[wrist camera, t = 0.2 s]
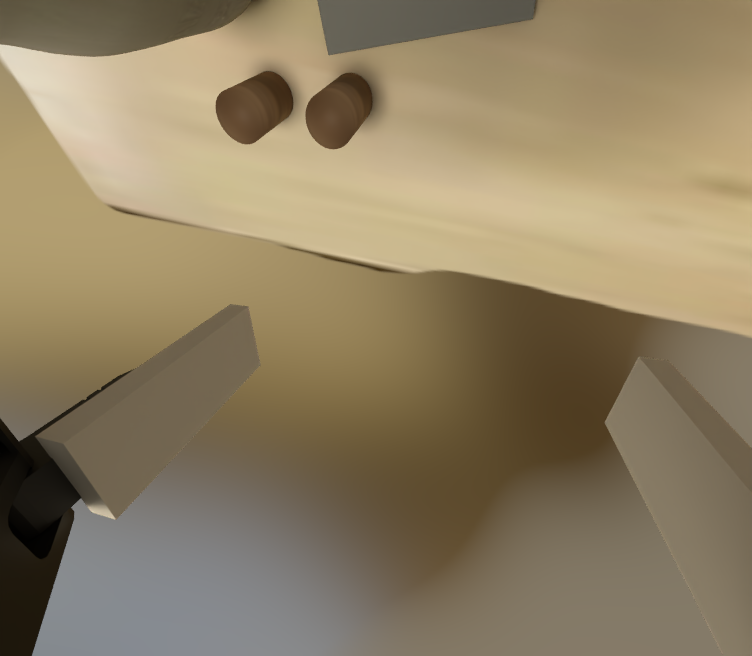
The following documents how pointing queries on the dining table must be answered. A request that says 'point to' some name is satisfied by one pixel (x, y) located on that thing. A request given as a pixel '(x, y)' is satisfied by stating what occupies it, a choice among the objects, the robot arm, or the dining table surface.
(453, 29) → the mat
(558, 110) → the dining table surface
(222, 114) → the cylinder
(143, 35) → the grey ceramic vase
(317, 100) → the cylinder
